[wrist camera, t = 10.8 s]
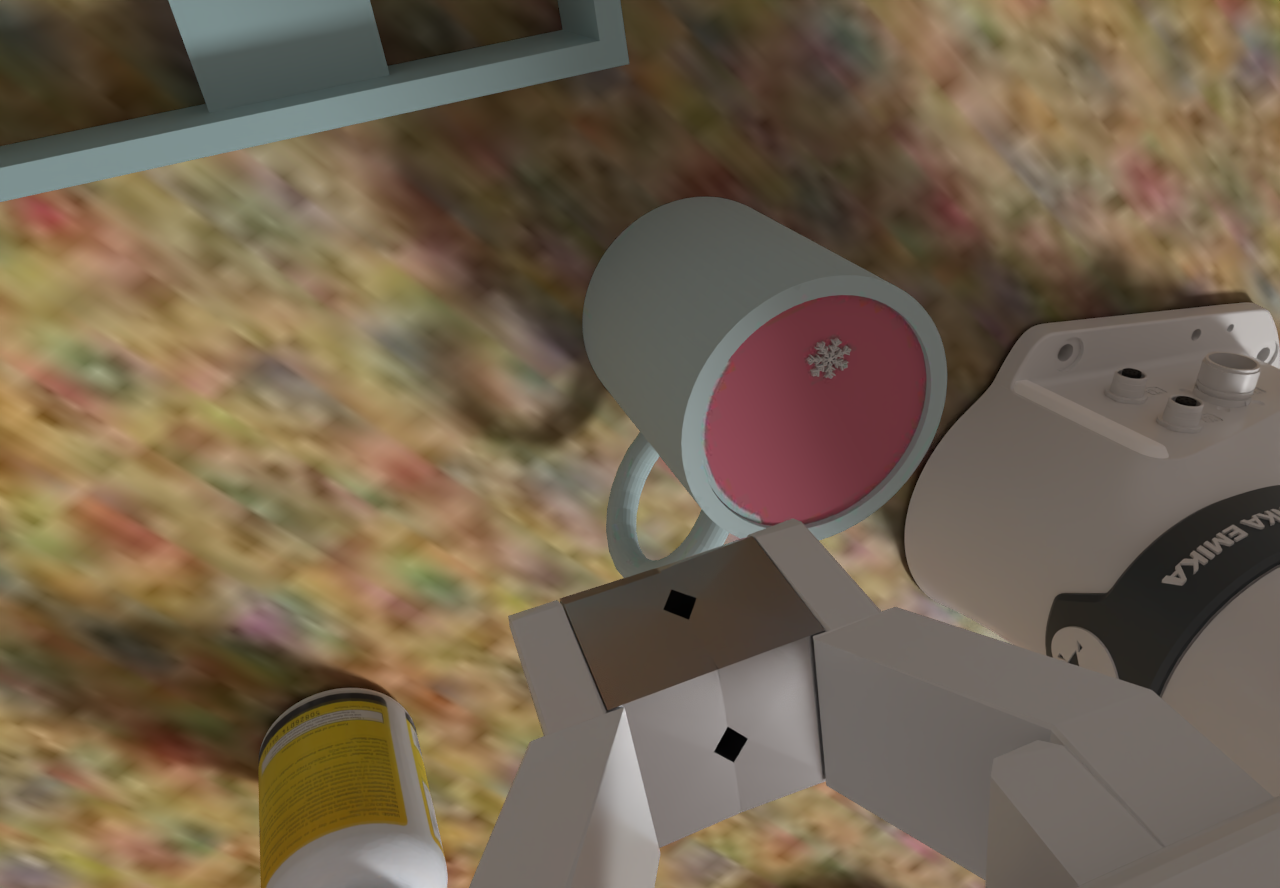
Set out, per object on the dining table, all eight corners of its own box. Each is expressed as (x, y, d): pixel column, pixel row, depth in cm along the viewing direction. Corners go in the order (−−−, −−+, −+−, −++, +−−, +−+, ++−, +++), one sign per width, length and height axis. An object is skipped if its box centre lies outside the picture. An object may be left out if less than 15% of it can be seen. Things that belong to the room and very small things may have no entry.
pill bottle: (228, 726, 39) (222, 986, 29) (376, 655, 40) (418, 884, 30) (303, 819, 42) (320, 1079, 33) (438, 751, 43) (494, 984, 34)
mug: (664, 150, 35) (797, 218, 26) (838, 265, 39) (997, 354, 31) (481, 462, 38) (548, 611, 29) (663, 534, 42) (765, 680, 34)
